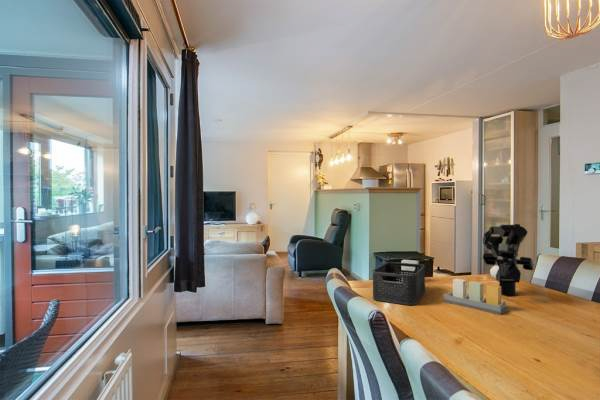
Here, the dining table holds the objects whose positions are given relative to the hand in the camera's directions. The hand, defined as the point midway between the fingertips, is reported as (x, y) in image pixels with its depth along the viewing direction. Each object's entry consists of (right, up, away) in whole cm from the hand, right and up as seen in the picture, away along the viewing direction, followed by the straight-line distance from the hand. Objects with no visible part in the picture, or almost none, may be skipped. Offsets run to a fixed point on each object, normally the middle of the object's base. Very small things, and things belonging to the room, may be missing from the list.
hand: (502, 276), depth 147 cm
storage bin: (-40, -13, +15) cm, 44 cm away
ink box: (-27, -12, +40) cm, 50 cm away
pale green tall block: (-11, -11, 0) cm, 15 cm away
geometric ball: (+24, -11, +45) cm, 52 cm away
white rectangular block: (-16, -10, +5) cm, 20 cm away
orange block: (-7, -11, -5) cm, 14 cm away
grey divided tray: (-12, -12, -1) cm, 17 cm away
